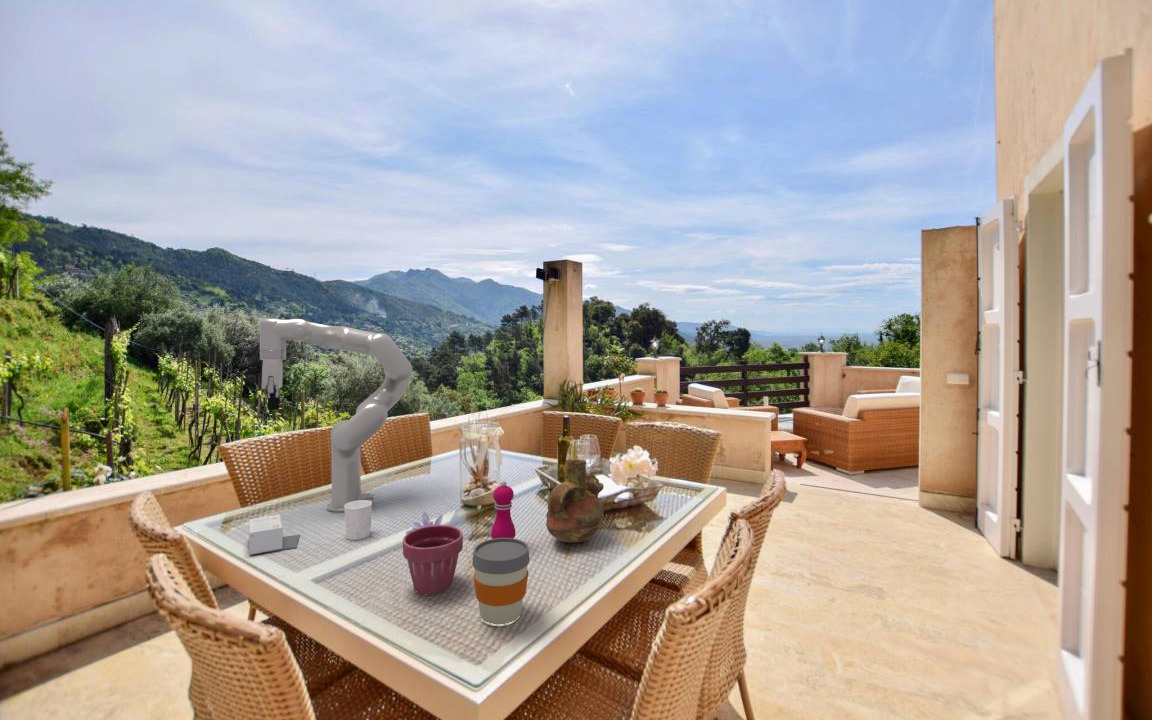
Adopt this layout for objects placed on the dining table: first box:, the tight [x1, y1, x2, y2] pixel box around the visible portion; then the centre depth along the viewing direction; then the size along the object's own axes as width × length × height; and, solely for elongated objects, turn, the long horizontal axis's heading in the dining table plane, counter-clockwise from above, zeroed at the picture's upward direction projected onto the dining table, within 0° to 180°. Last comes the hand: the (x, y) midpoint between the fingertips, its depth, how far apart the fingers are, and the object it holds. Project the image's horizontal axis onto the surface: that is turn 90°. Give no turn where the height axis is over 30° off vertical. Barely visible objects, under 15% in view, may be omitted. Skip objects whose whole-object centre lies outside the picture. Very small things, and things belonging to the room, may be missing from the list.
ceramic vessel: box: [545, 458, 605, 543], centre depth 150 cm, size 17×26×25 cm, turn 145°
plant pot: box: [402, 524, 464, 596], centre depth 120 cm, size 14×14×13 cm
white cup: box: [344, 500, 373, 541], centre depth 150 cm, size 8×8×10 cm
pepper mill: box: [490, 480, 517, 539], centre depth 142 cm, size 7×7×20 cm
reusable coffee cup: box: [472, 538, 531, 624], centre depth 107 cm, size 13×13×15 cm
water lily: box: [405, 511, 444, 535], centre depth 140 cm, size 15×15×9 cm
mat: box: [252, 534, 301, 555], centre depth 143 cm, size 11×10×1 cm
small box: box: [248, 514, 284, 556], centre depth 143 cm, size 8×6×13 cm
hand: (273, 409), depth 164 cm, fingers closed
